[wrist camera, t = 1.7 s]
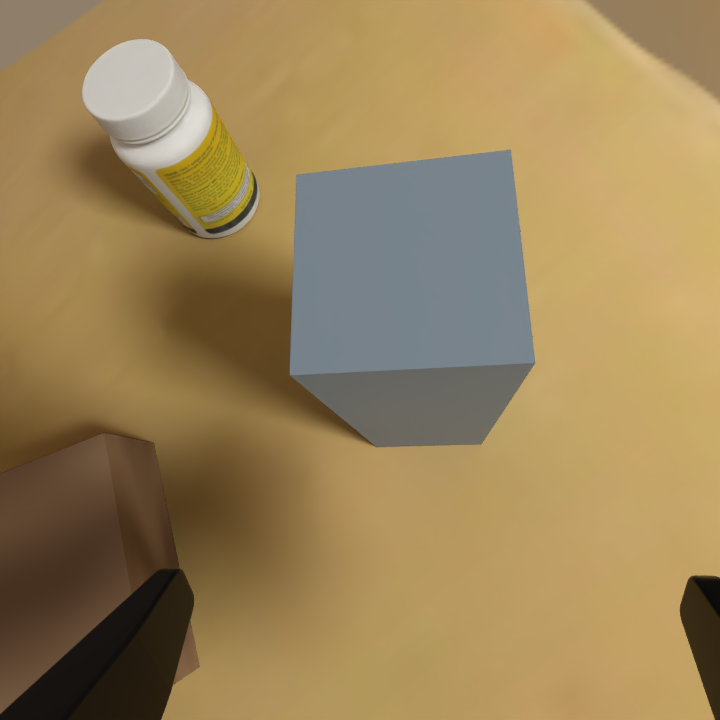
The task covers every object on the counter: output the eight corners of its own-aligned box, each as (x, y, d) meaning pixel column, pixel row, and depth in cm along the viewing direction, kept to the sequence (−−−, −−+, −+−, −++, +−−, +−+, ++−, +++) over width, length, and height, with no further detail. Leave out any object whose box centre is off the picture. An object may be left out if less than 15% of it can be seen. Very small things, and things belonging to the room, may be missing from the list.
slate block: (481, 444, 21) (535, 362, 9) (376, 447, 22) (289, 375, 9) (473, 343, 22) (510, 149, 10) (374, 349, 23) (296, 174, 11)
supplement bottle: (271, 170, 27) (199, 31, 19) (247, 246, 26) (160, 132, 18) (195, 163, 28) (96, 28, 20) (169, 235, 27) (53, 123, 19)
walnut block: (203, 664, 21) (149, 700, 17) (36, 724, 21) (-53, 773, 17) (157, 443, 24) (103, 432, 20) (12, 500, 24) (-67, 499, 21)
